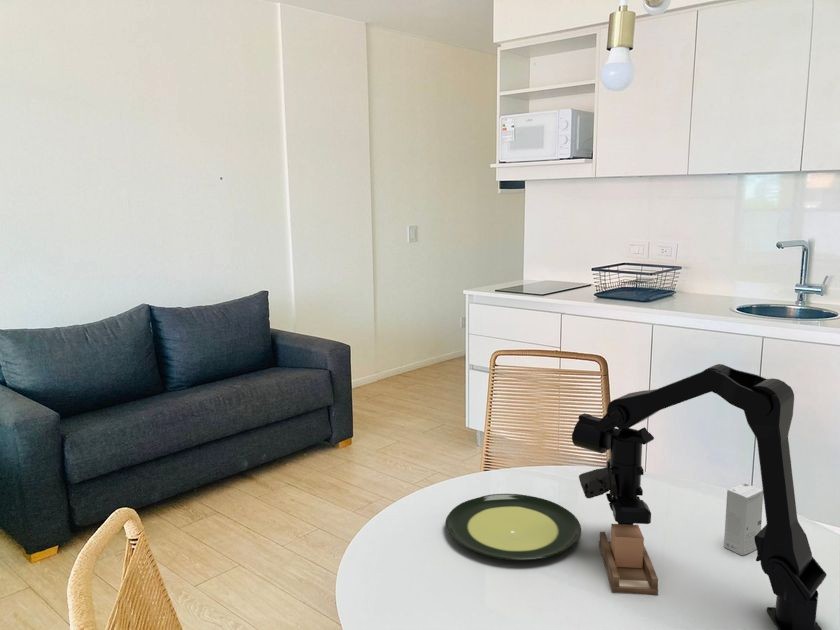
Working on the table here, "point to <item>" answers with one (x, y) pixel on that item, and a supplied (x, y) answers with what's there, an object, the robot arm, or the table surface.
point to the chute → (628, 573)
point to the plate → (513, 527)
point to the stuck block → (627, 545)
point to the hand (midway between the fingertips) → (622, 535)
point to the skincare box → (743, 518)
